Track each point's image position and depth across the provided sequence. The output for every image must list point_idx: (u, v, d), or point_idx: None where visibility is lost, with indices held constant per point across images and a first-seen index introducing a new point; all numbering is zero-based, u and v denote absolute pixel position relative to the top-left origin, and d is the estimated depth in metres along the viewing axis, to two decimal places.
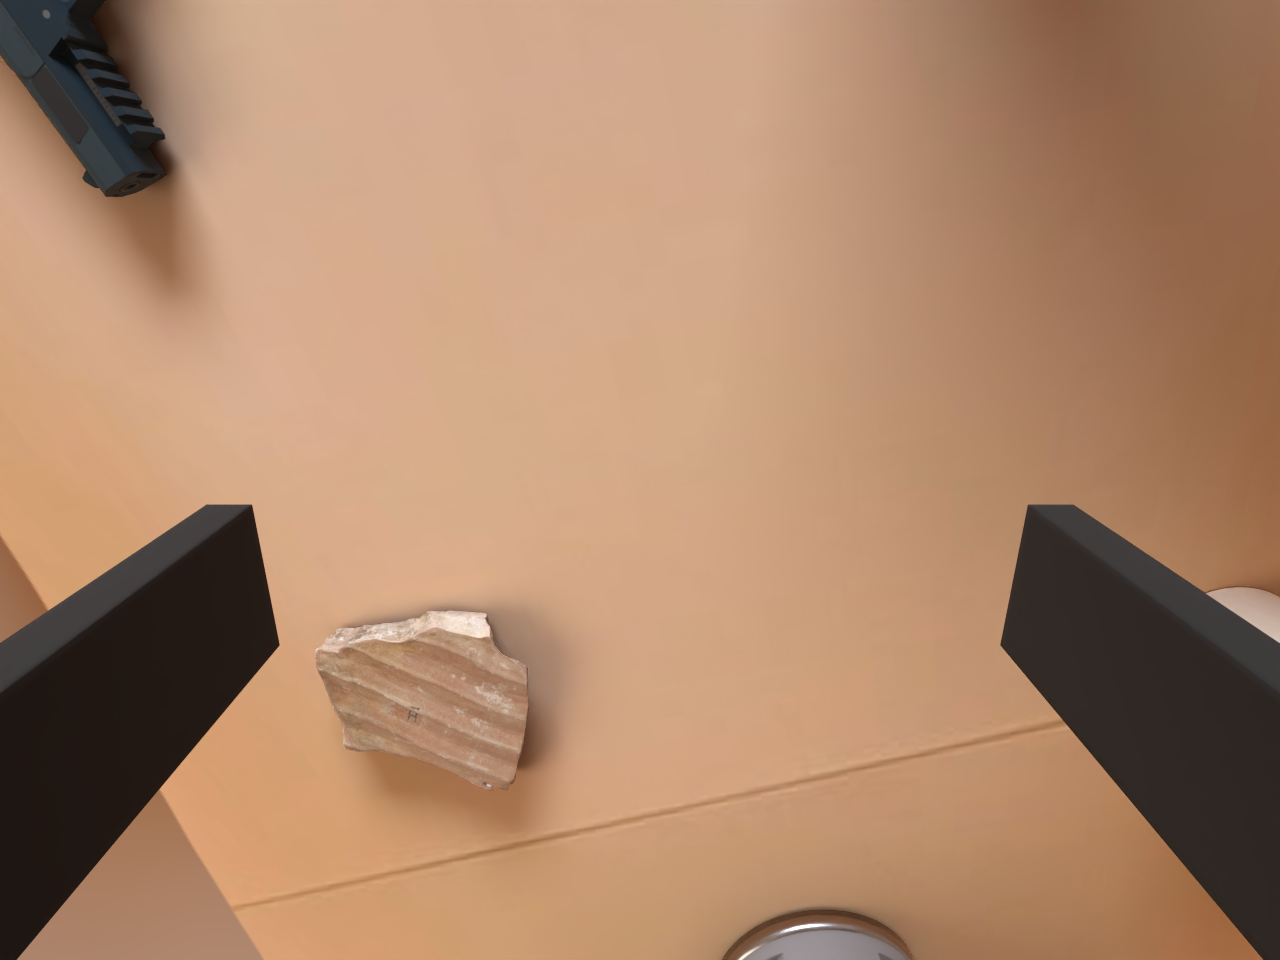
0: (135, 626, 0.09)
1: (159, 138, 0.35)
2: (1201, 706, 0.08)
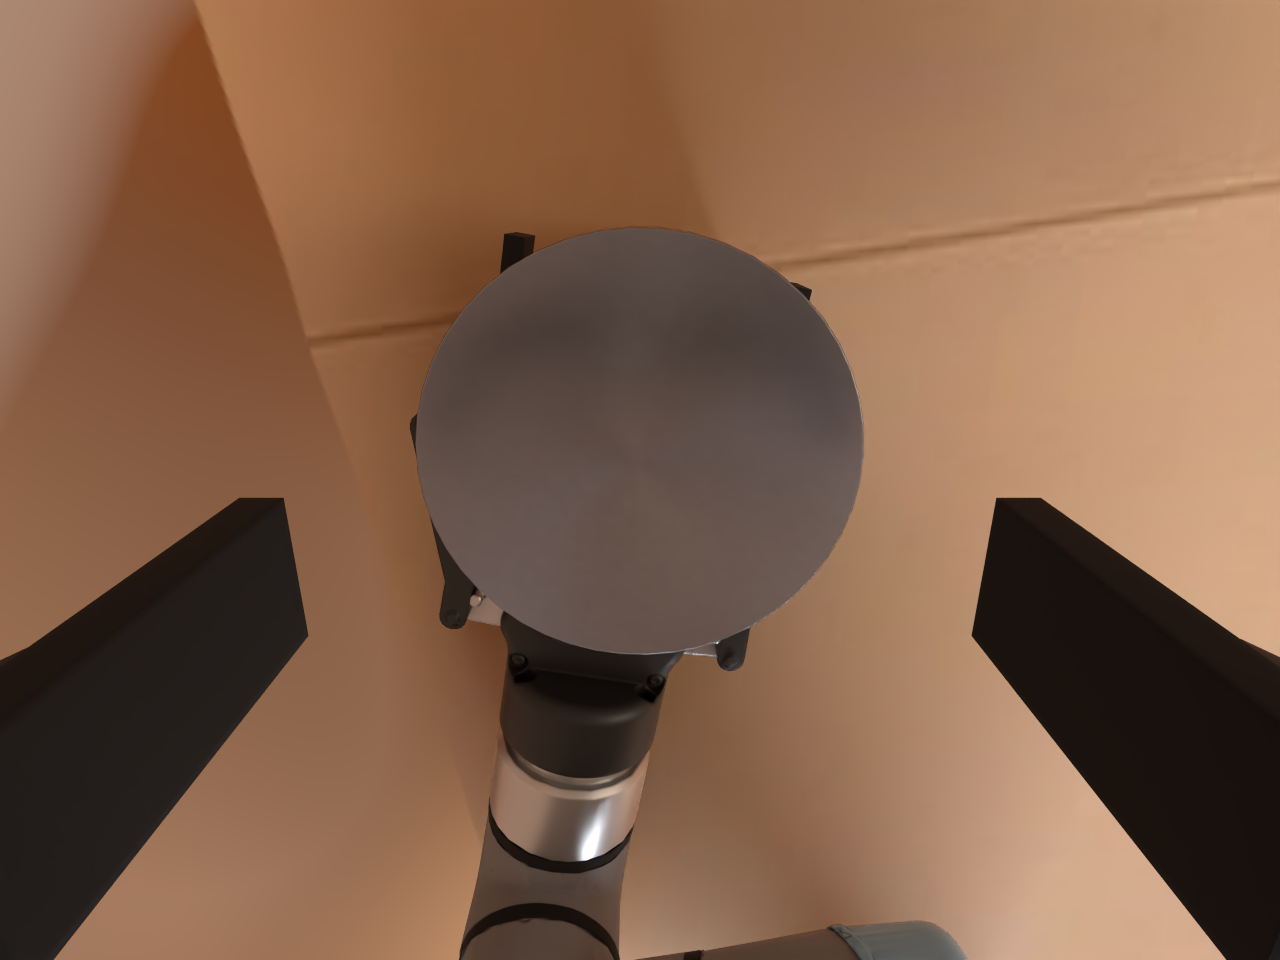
0: (179, 613, 0.10)
1: None
2: (1150, 690, 0.09)
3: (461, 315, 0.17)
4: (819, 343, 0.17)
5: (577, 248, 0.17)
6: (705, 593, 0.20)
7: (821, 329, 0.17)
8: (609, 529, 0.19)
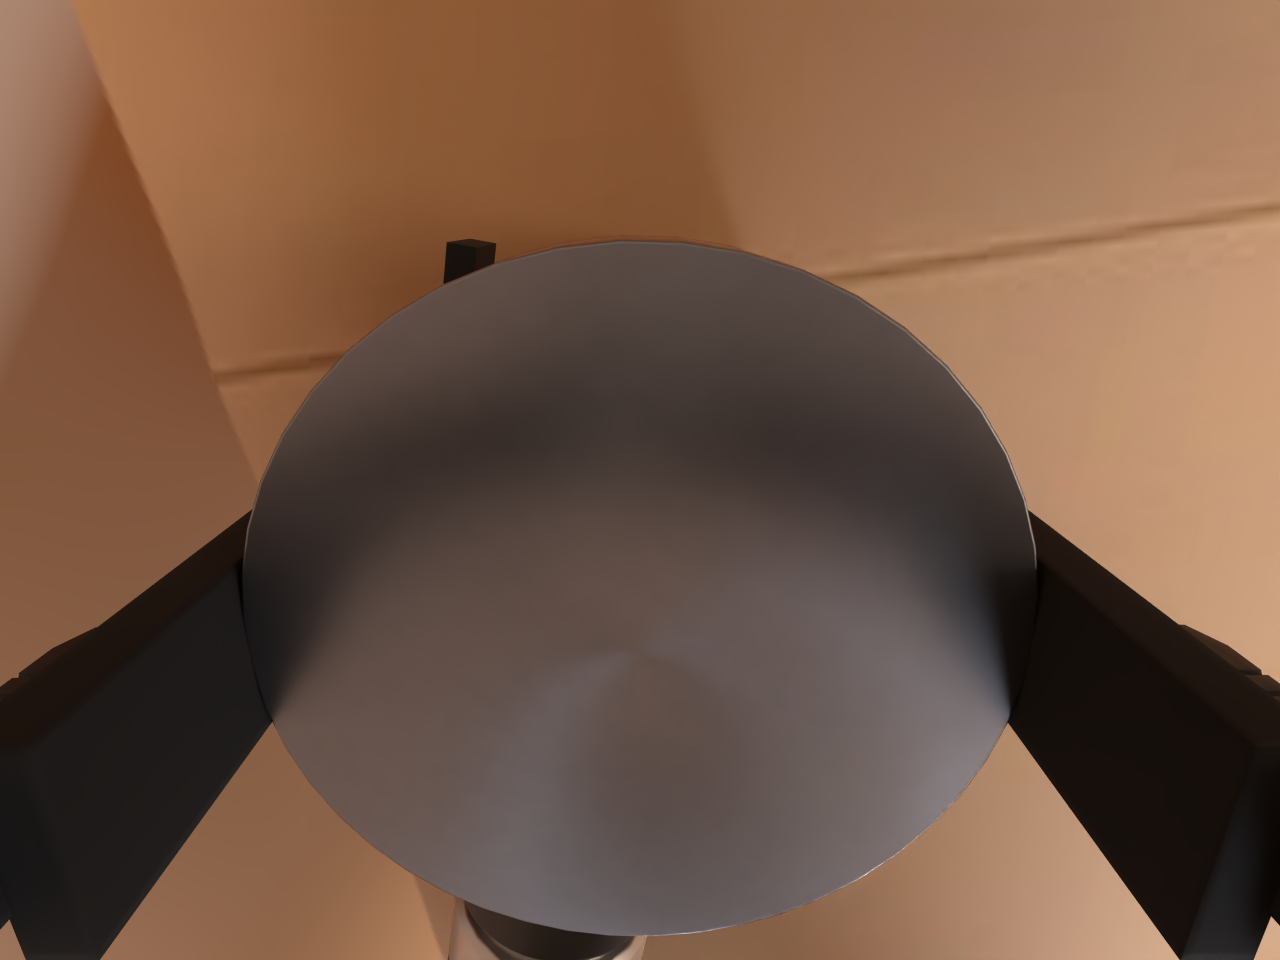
0: (230, 600, 0.10)
1: None
2: (1092, 672, 0.09)
3: (307, 403, 0.09)
4: (970, 452, 0.09)
5: (520, 280, 0.09)
6: (749, 849, 0.12)
7: (976, 428, 0.09)
8: (588, 754, 0.11)
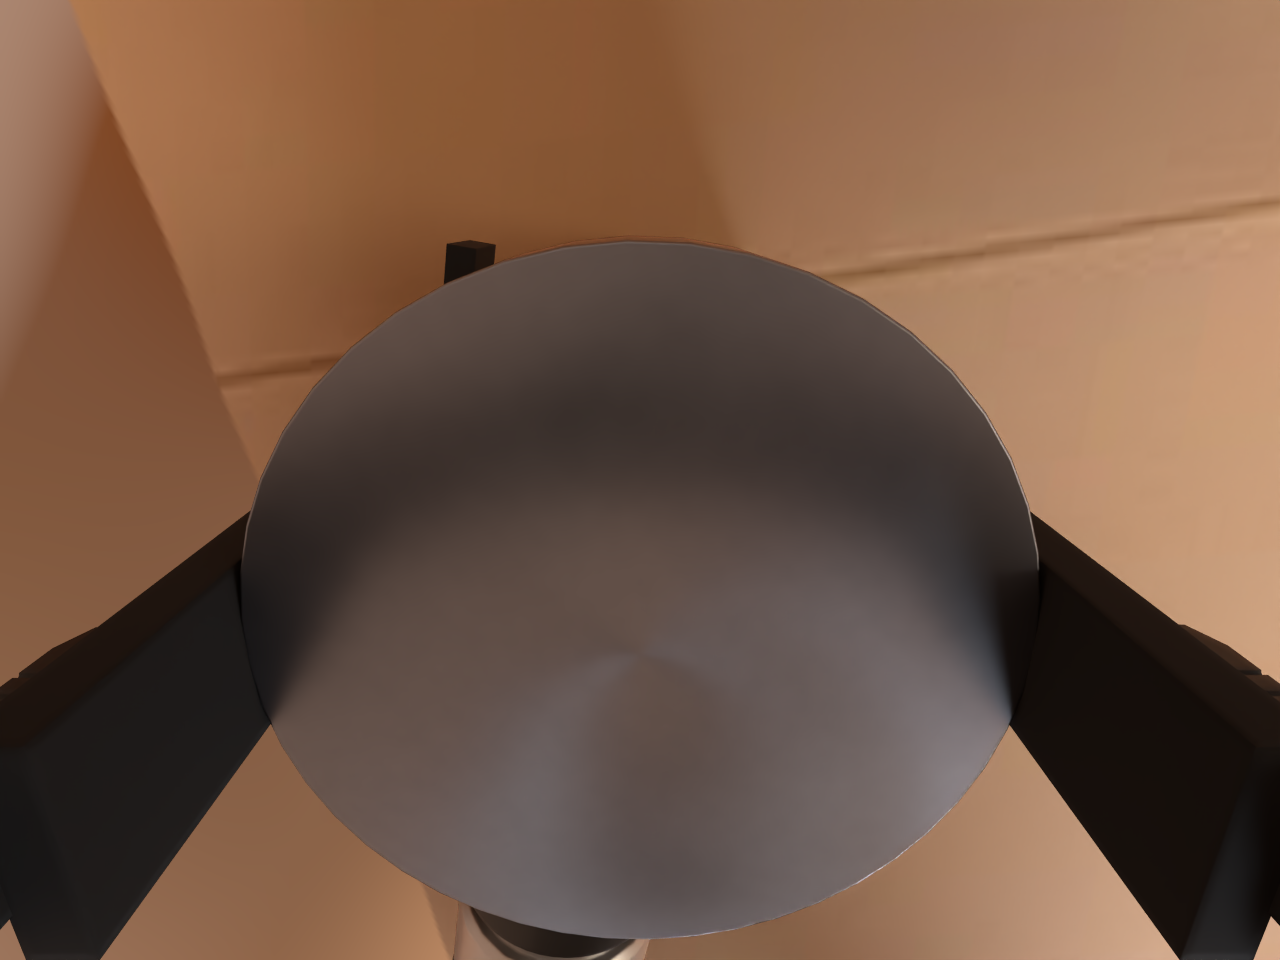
0: (229, 600, 0.10)
1: None
2: (1092, 672, 0.09)
3: None
4: (279, 680, 0.10)
5: (555, 919, 0.12)
6: (670, 372, 0.09)
7: (269, 697, 0.11)
8: (756, 583, 0.10)
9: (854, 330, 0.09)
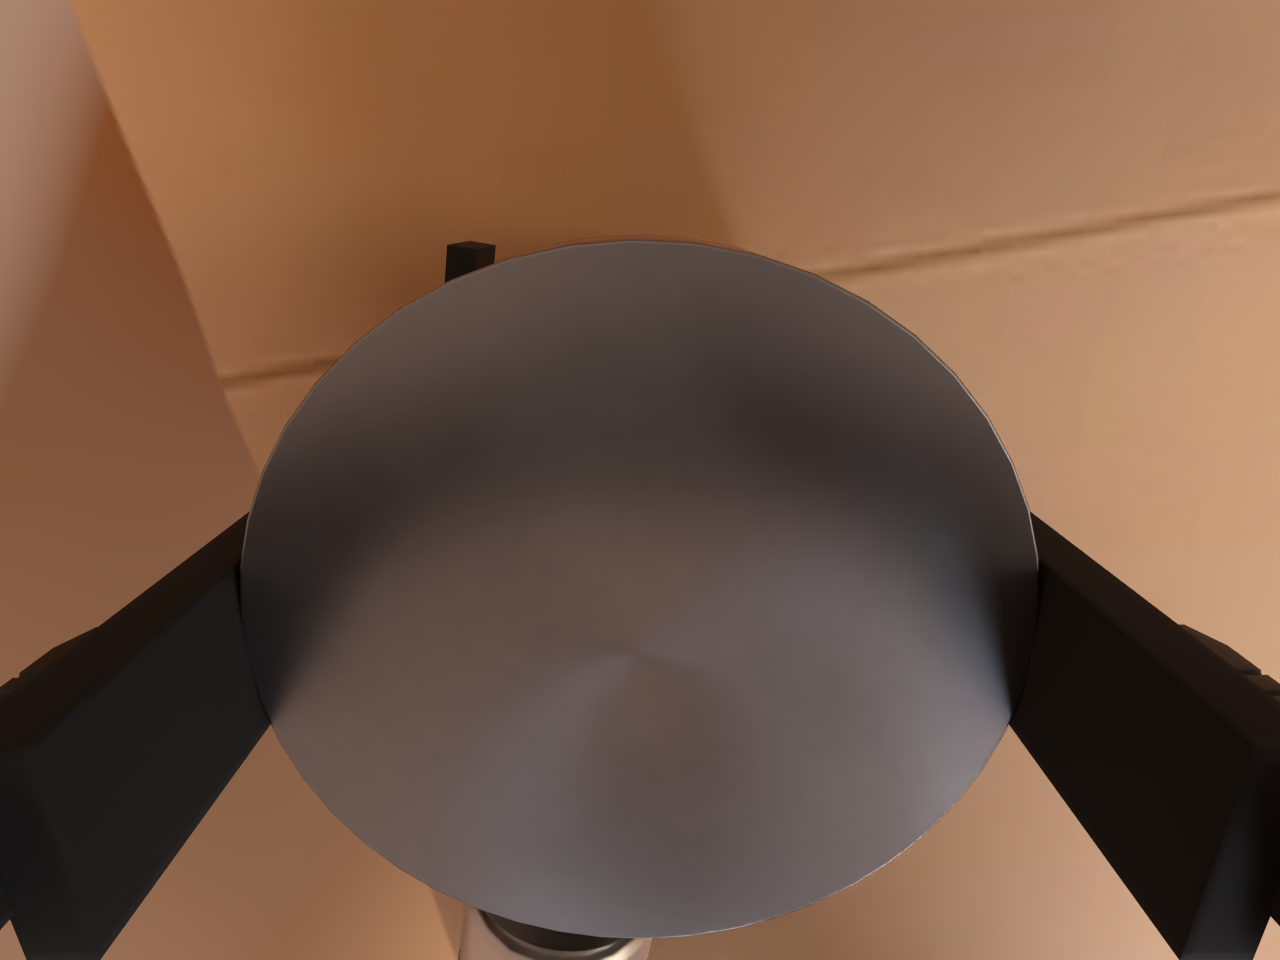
0: (230, 600, 0.10)
1: None
2: (1092, 672, 0.09)
3: (744, 257, 0.08)
4: (945, 783, 0.11)
5: (947, 399, 0.09)
6: (488, 833, 0.11)
7: (967, 777, 0.11)
8: (504, 664, 0.10)
9: (344, 800, 0.11)
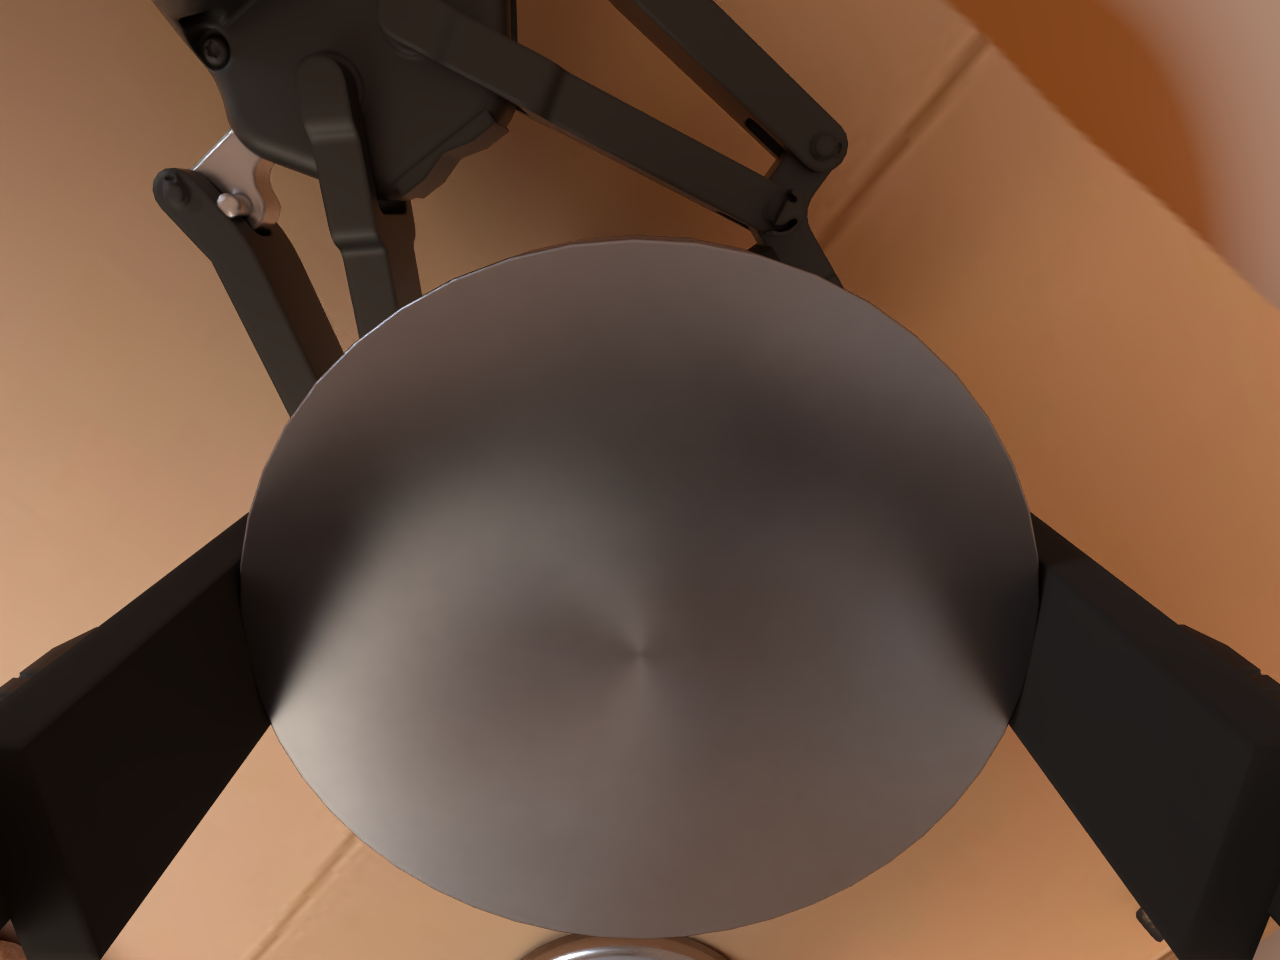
0: (230, 600, 0.10)
1: None
2: (1092, 672, 0.09)
3: (745, 257, 0.08)
4: (944, 784, 0.11)
5: (947, 400, 0.09)
6: (487, 833, 0.11)
7: (966, 777, 0.11)
8: (503, 664, 0.10)
9: (343, 799, 0.11)
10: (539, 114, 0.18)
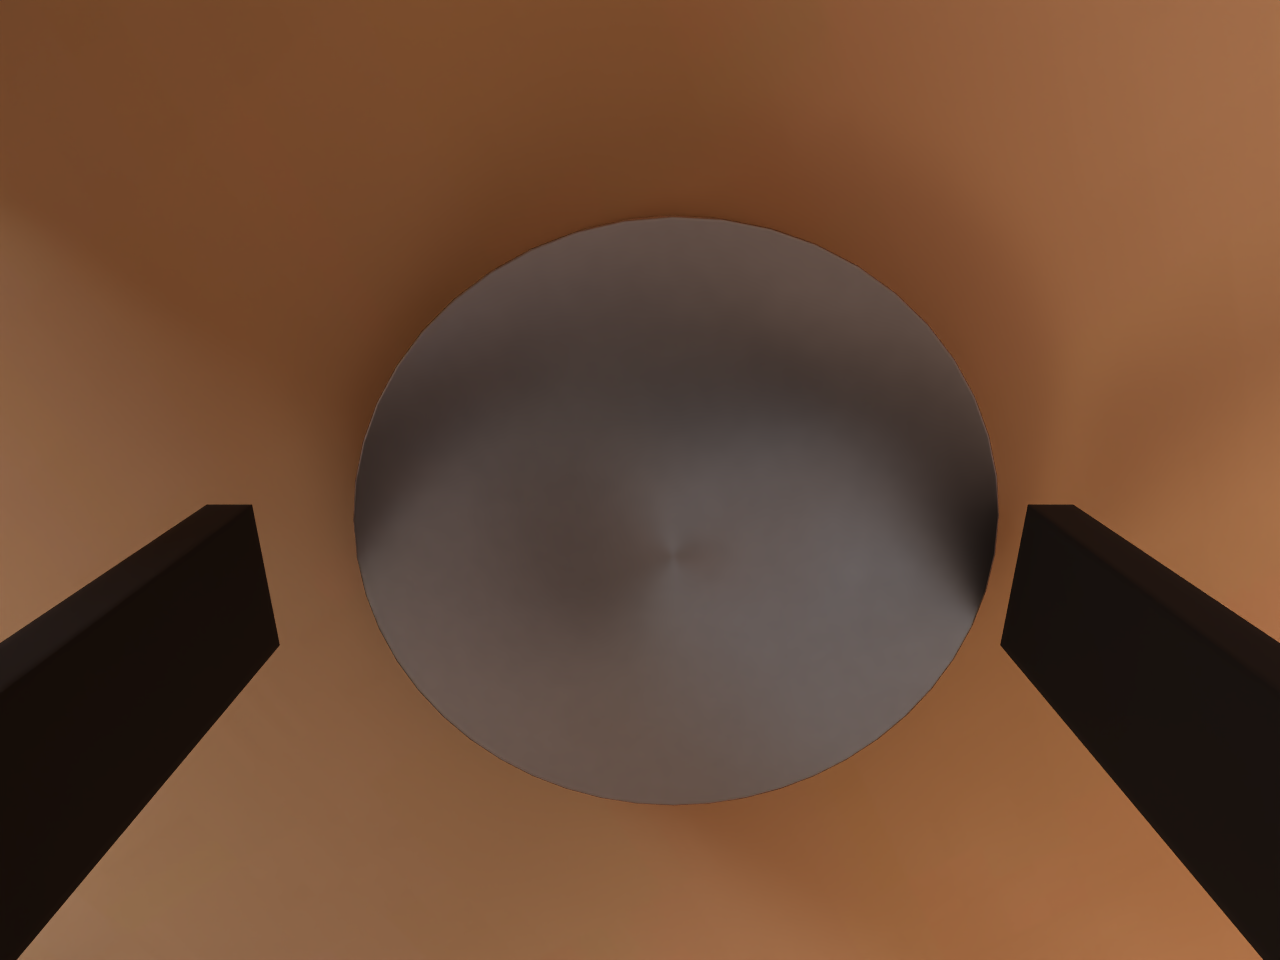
0: (135, 626, 0.09)
1: None
2: (1201, 706, 0.08)
3: (760, 230, 0.11)
4: (923, 669, 0.14)
5: (921, 344, 0.11)
6: (545, 710, 0.14)
7: (941, 663, 0.13)
8: (563, 564, 0.13)
9: (429, 679, 0.14)
10: None
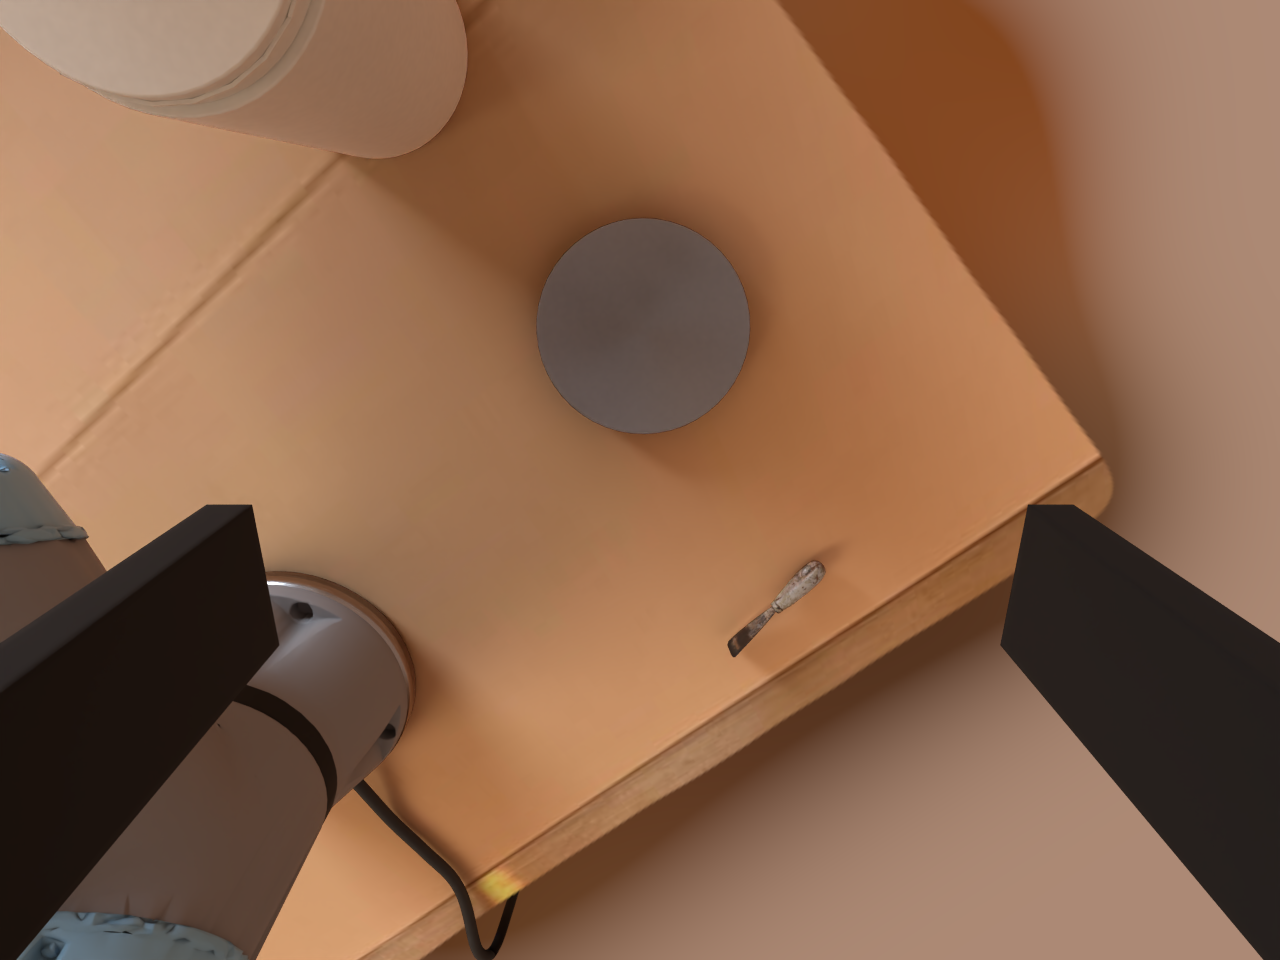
0: (135, 626, 0.09)
1: None
2: (1201, 706, 0.08)
3: (667, 222, 0.36)
4: (730, 374, 0.39)
5: (719, 257, 0.37)
6: (599, 393, 0.39)
7: (736, 372, 0.39)
8: (606, 334, 0.38)
9: (558, 380, 0.39)
10: None
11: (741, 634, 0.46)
